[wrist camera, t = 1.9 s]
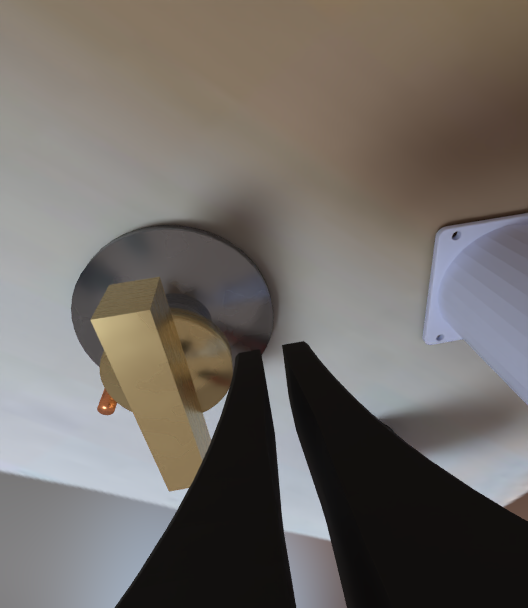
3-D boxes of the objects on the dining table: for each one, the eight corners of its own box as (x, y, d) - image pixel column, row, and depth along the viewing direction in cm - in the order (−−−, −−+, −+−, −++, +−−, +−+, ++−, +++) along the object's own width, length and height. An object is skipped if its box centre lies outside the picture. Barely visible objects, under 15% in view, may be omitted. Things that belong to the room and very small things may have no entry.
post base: (258, 209, 18) (270, 244, 14) (280, 370, 24) (293, 429, 20) (40, 244, 18) (-11, 290, 14) (115, 399, 24) (94, 464, 20)
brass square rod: (210, 257, 15) (208, 300, 12) (246, 418, 21) (251, 476, 17) (67, 280, 15) (30, 329, 12) (140, 436, 20) (127, 499, 17)
